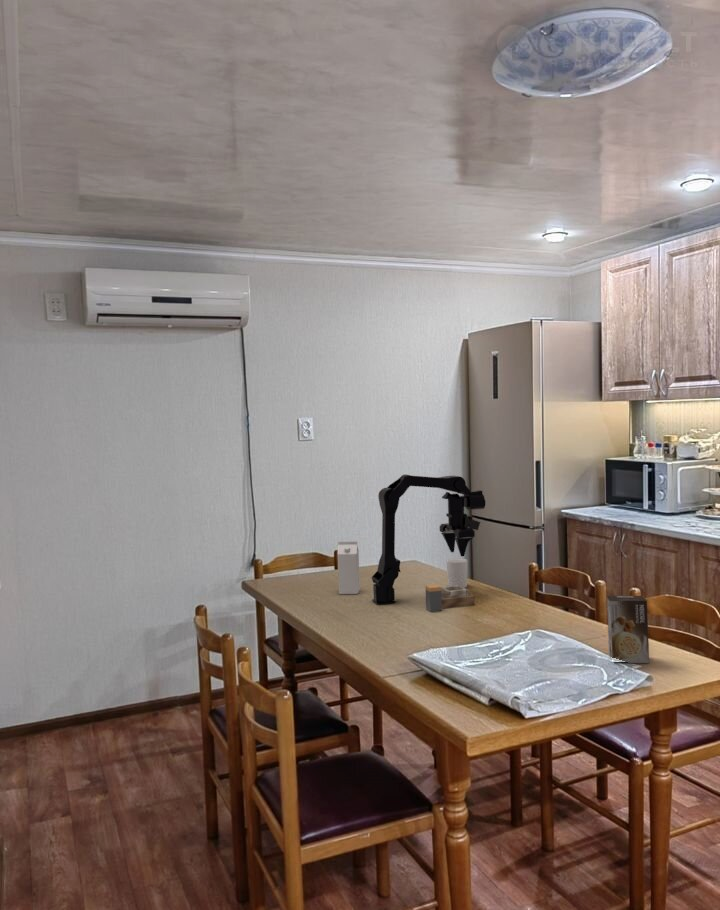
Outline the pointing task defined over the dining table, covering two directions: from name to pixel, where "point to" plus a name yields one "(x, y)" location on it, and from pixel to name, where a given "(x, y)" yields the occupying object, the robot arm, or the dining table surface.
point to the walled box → (456, 597)
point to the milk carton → (348, 568)
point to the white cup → (457, 572)
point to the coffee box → (628, 628)
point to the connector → (433, 598)
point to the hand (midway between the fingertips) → (457, 554)
